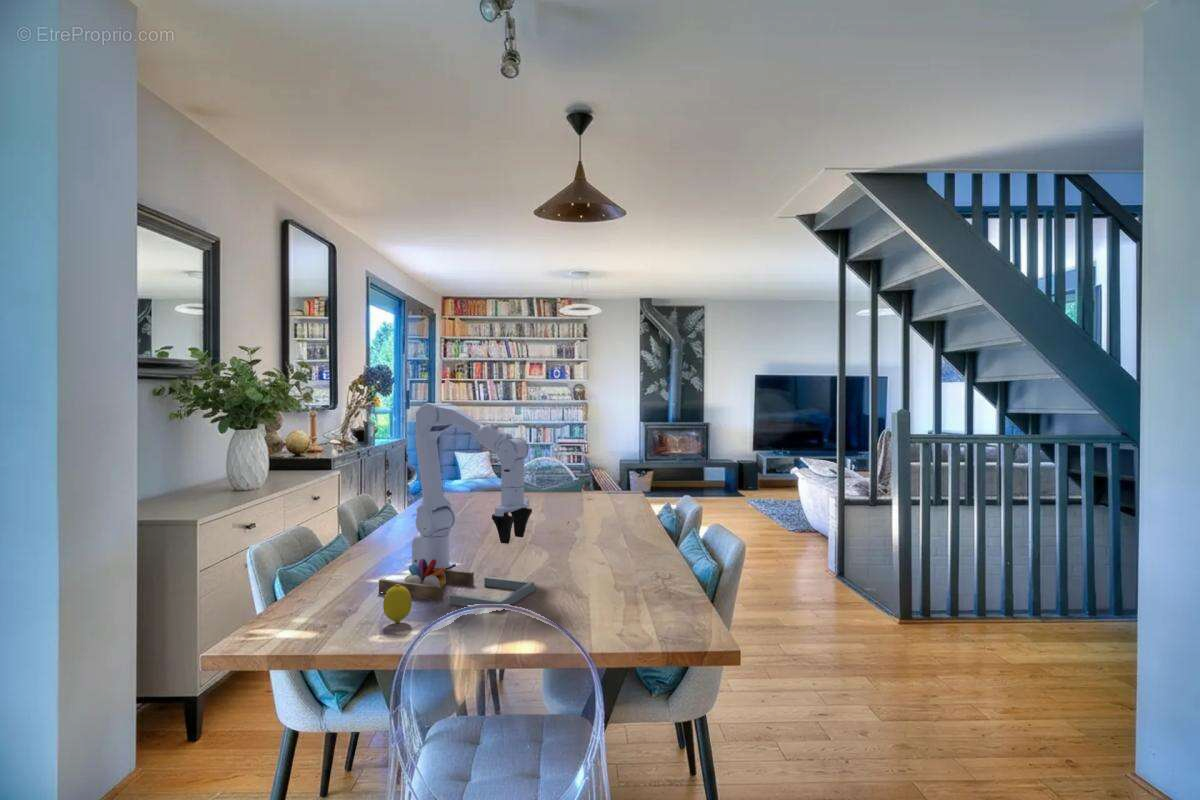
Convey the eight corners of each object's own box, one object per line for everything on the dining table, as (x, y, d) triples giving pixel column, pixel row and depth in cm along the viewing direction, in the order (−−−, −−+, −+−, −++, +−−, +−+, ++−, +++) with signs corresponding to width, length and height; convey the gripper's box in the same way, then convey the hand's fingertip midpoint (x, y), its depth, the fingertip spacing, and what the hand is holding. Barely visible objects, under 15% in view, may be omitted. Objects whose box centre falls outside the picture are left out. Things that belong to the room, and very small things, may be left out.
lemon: (386, 618, 137) (386, 580, 137) (413, 618, 138) (414, 580, 138) (380, 628, 132) (380, 588, 132) (408, 627, 132) (408, 587, 132)
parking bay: (449, 604, 147) (449, 595, 147) (486, 584, 162) (486, 576, 162) (500, 611, 142) (500, 602, 142) (534, 590, 157) (534, 582, 157)
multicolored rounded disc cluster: (441, 594, 154) (441, 563, 154) (399, 594, 155) (399, 563, 154) (450, 584, 163) (450, 554, 163) (410, 583, 163) (410, 554, 163)
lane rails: (378, 592, 155) (378, 580, 155) (415, 577, 168) (415, 565, 168) (440, 601, 149) (440, 588, 149) (473, 584, 162) (473, 572, 162)
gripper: (513, 491, 159) (512, 547, 159) (539, 483, 172) (539, 535, 173) (487, 489, 161) (486, 544, 161) (515, 481, 175) (515, 533, 175)
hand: (512, 539), depth 167 cm, fingers open, 7 cm apart
